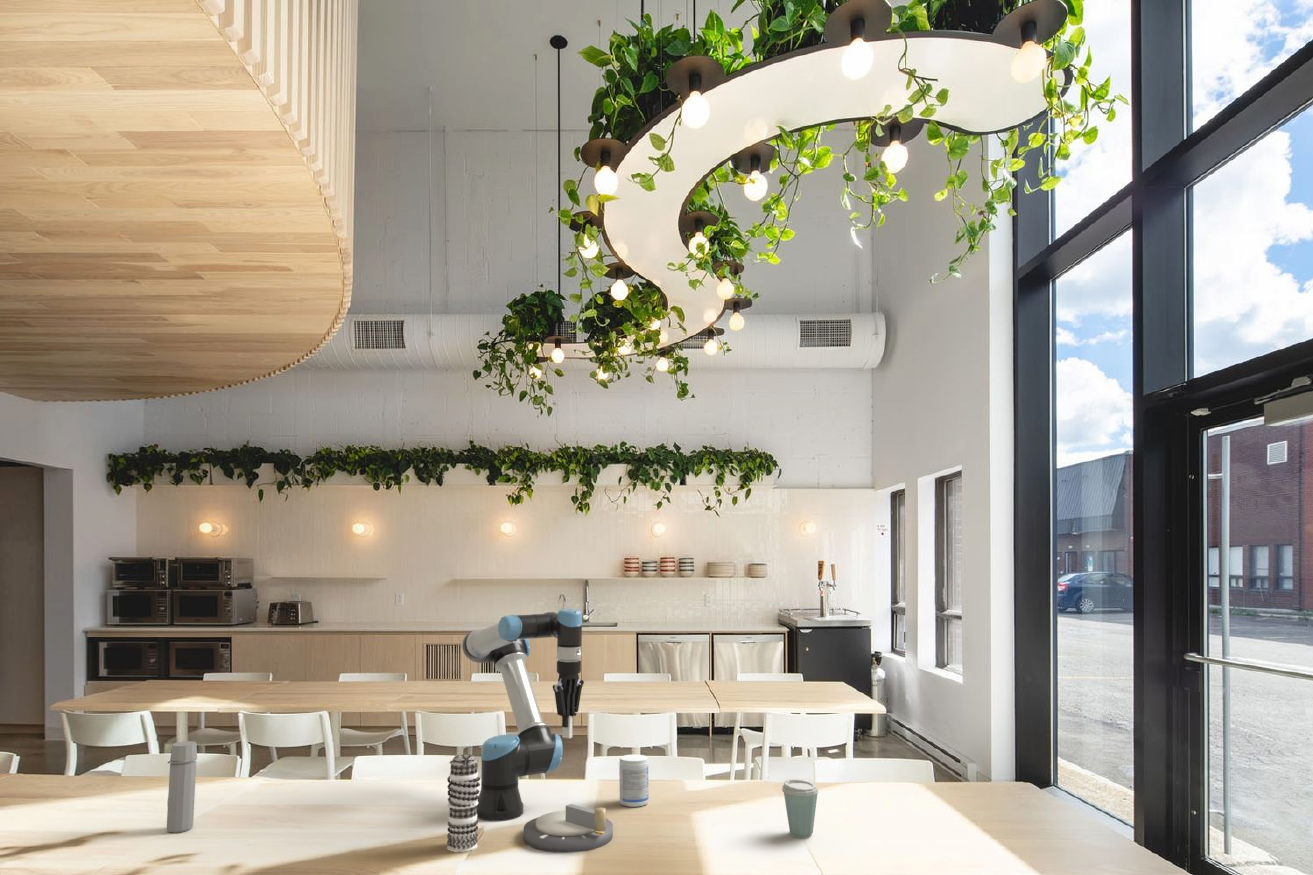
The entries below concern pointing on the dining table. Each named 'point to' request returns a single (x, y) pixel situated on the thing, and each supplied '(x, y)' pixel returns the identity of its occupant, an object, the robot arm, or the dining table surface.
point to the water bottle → (181, 787)
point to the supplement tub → (633, 780)
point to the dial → (572, 821)
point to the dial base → (566, 839)
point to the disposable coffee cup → (800, 806)
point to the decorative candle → (463, 803)
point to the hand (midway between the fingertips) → (567, 737)
